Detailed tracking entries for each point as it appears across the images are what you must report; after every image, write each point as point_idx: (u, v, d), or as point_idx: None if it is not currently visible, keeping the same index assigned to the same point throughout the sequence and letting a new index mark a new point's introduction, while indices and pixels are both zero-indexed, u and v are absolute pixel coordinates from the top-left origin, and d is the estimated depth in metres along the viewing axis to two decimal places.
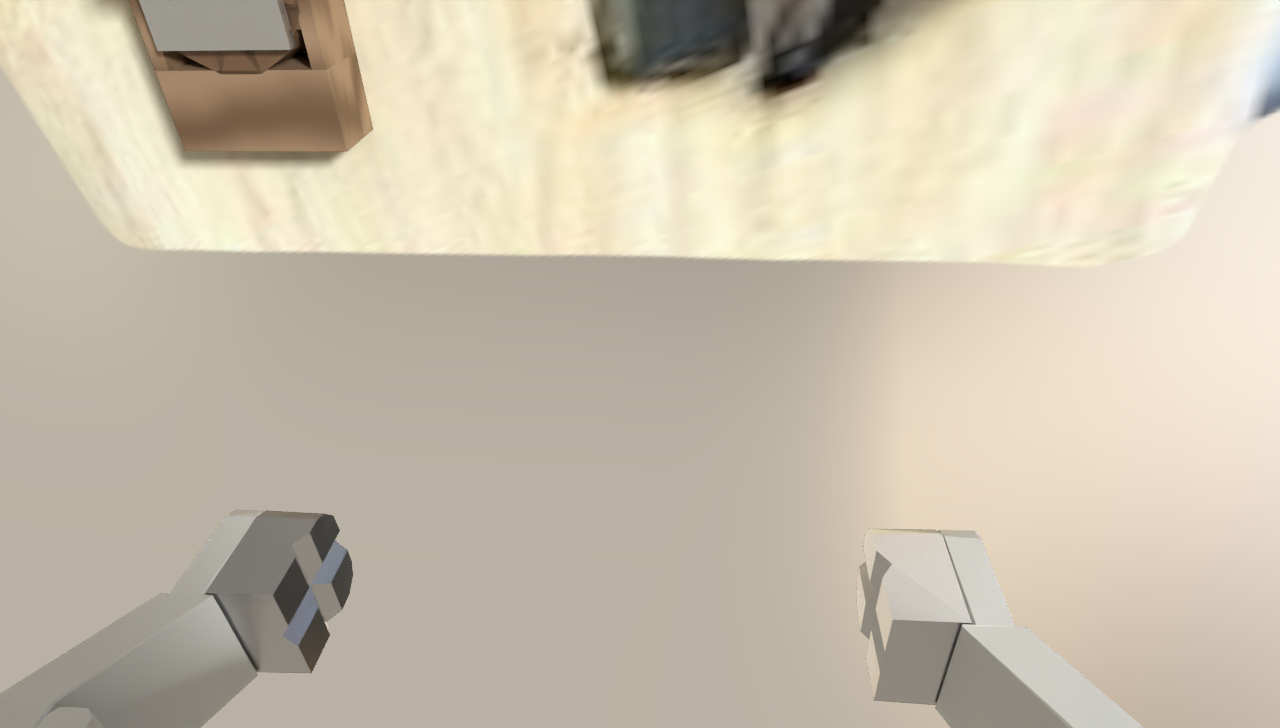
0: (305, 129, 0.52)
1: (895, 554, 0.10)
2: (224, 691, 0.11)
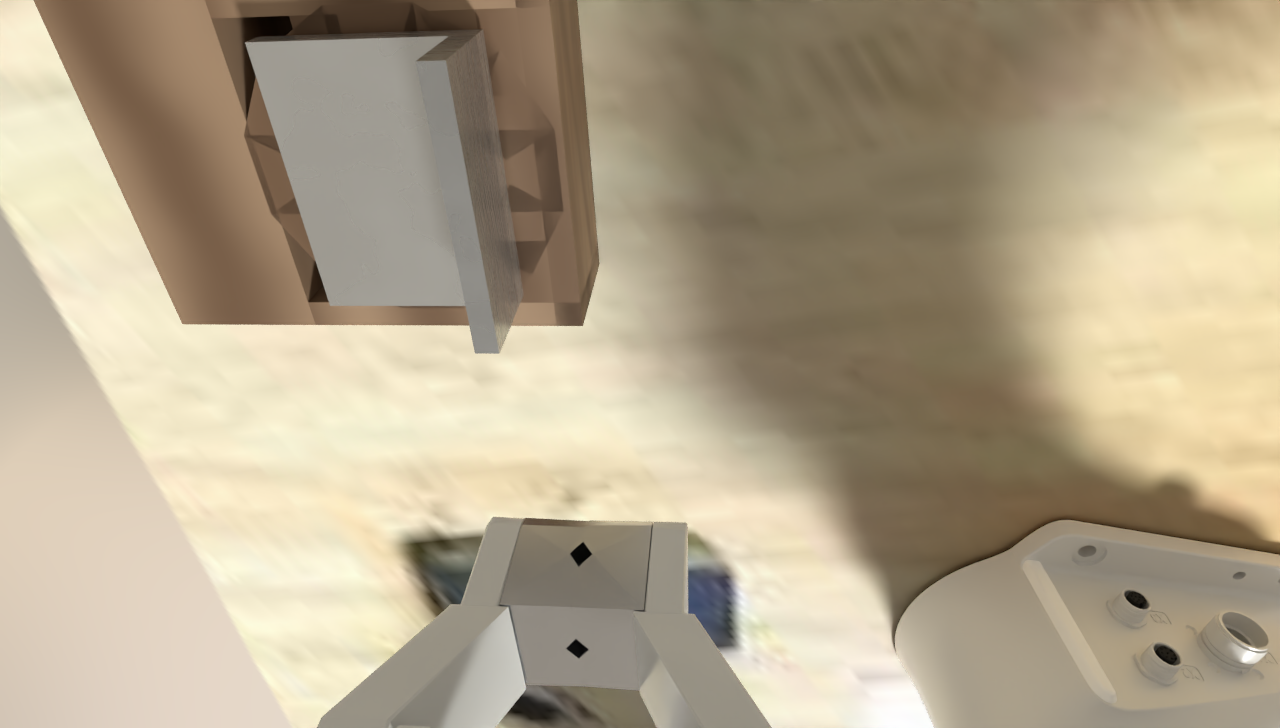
0: (194, 265, 0.28)
1: (599, 545, 0.10)
2: (502, 706, 0.10)
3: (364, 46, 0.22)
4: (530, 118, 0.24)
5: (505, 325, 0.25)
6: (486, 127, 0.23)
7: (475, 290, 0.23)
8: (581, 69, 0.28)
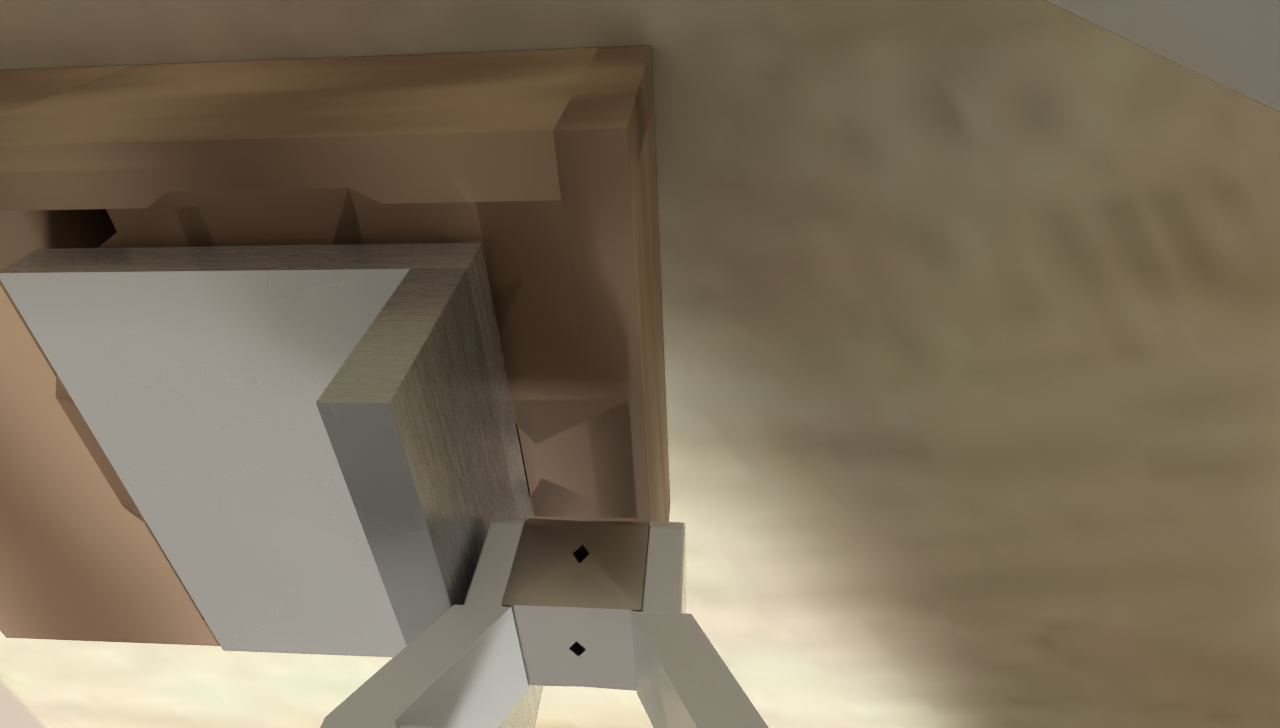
0: (8, 568, 0.17)
1: (597, 545, 0.10)
2: (505, 705, 0.10)
3: (237, 284, 0.11)
4: (583, 383, 0.13)
5: None
6: (489, 431, 0.11)
7: None
8: (658, 242, 0.16)
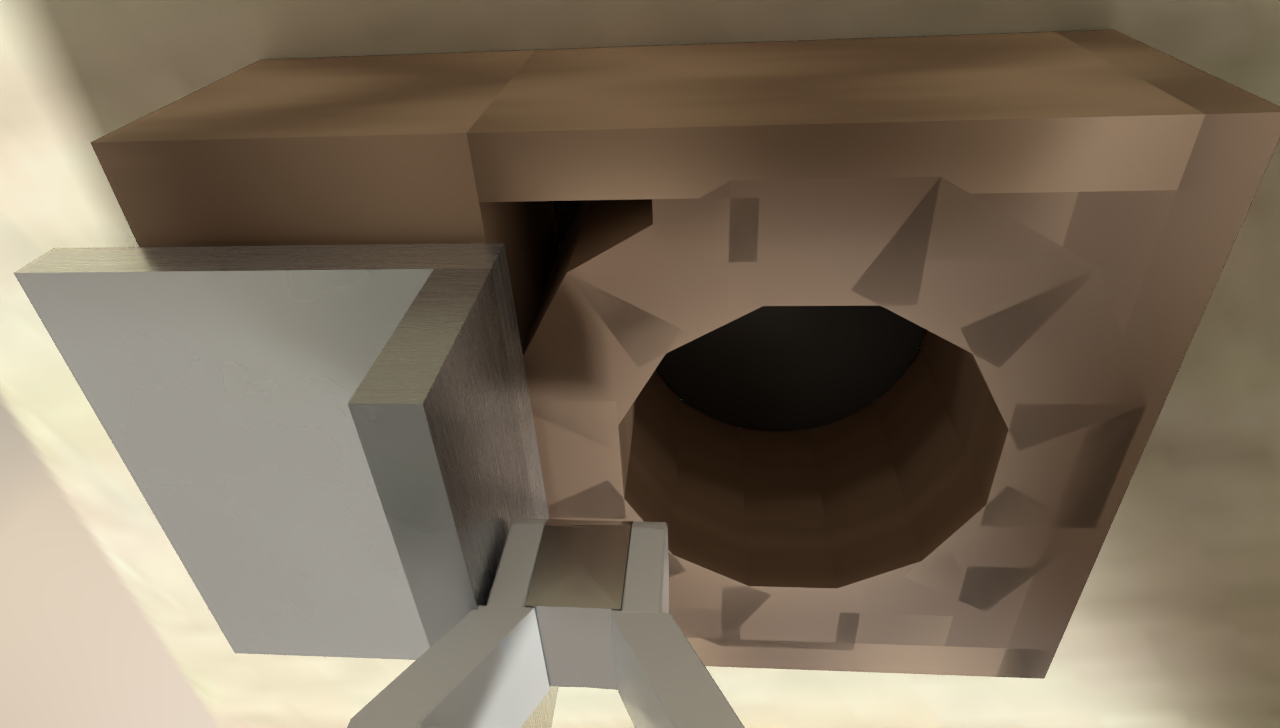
0: None
1: (578, 544, 0.10)
2: (527, 707, 0.10)
3: (258, 284, 0.11)
4: (1104, 386, 0.12)
5: None
6: (511, 432, 0.11)
7: None
8: None
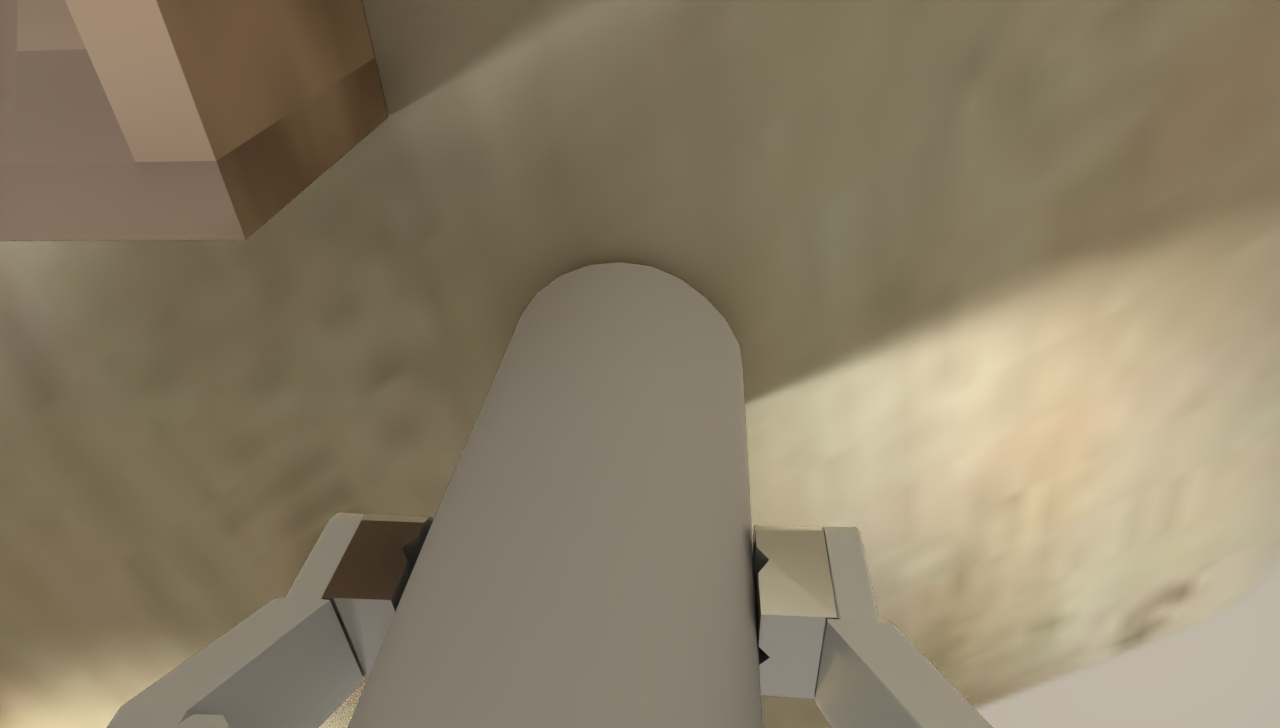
0: None
1: (774, 550, 0.10)
2: (334, 697, 0.10)
3: None
4: None
5: None
6: None
7: None
8: None
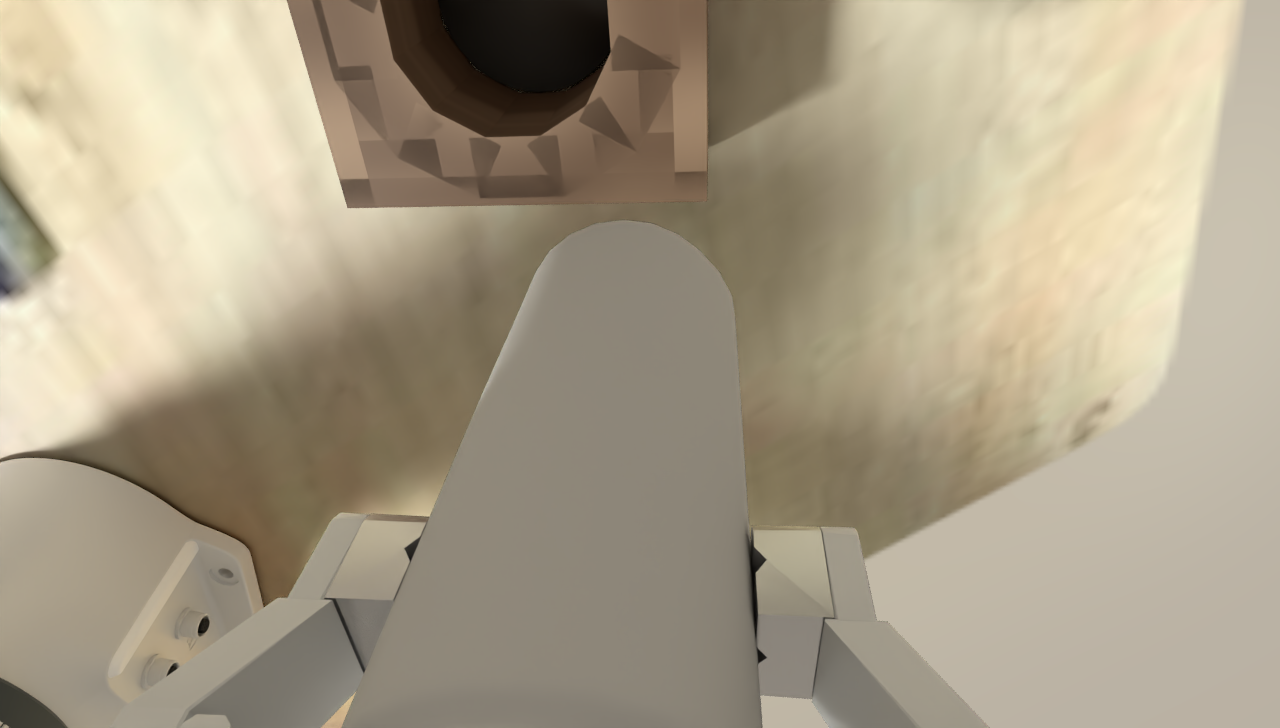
0: None
1: (772, 550, 0.10)
2: (336, 697, 0.10)
3: None
4: (573, 174, 0.24)
5: None
6: None
7: None
8: None
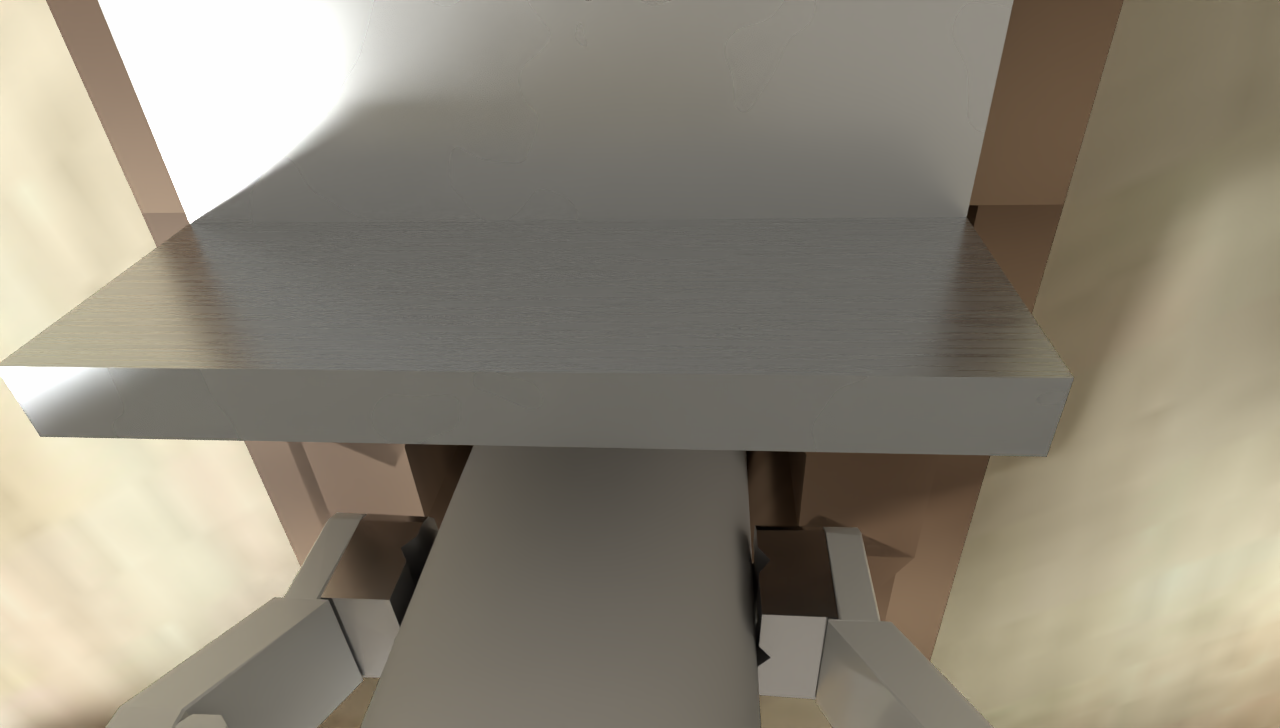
0: None
1: (775, 550, 0.10)
2: (332, 697, 0.10)
3: None
4: None
5: None
6: None
7: (262, 408, 0.07)
8: None
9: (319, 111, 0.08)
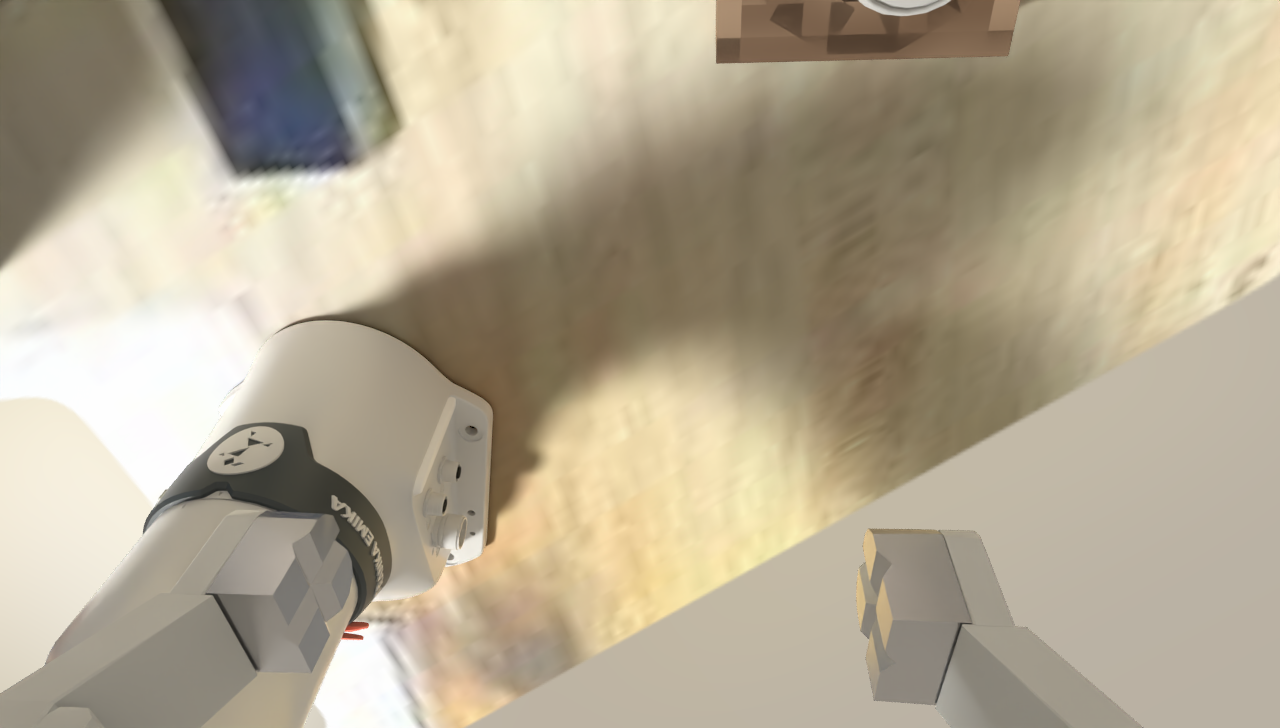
0: None
1: (895, 554, 0.10)
2: (224, 691, 0.11)
3: None
4: (906, 33, 0.31)
5: None
6: None
7: None
8: None
9: None
